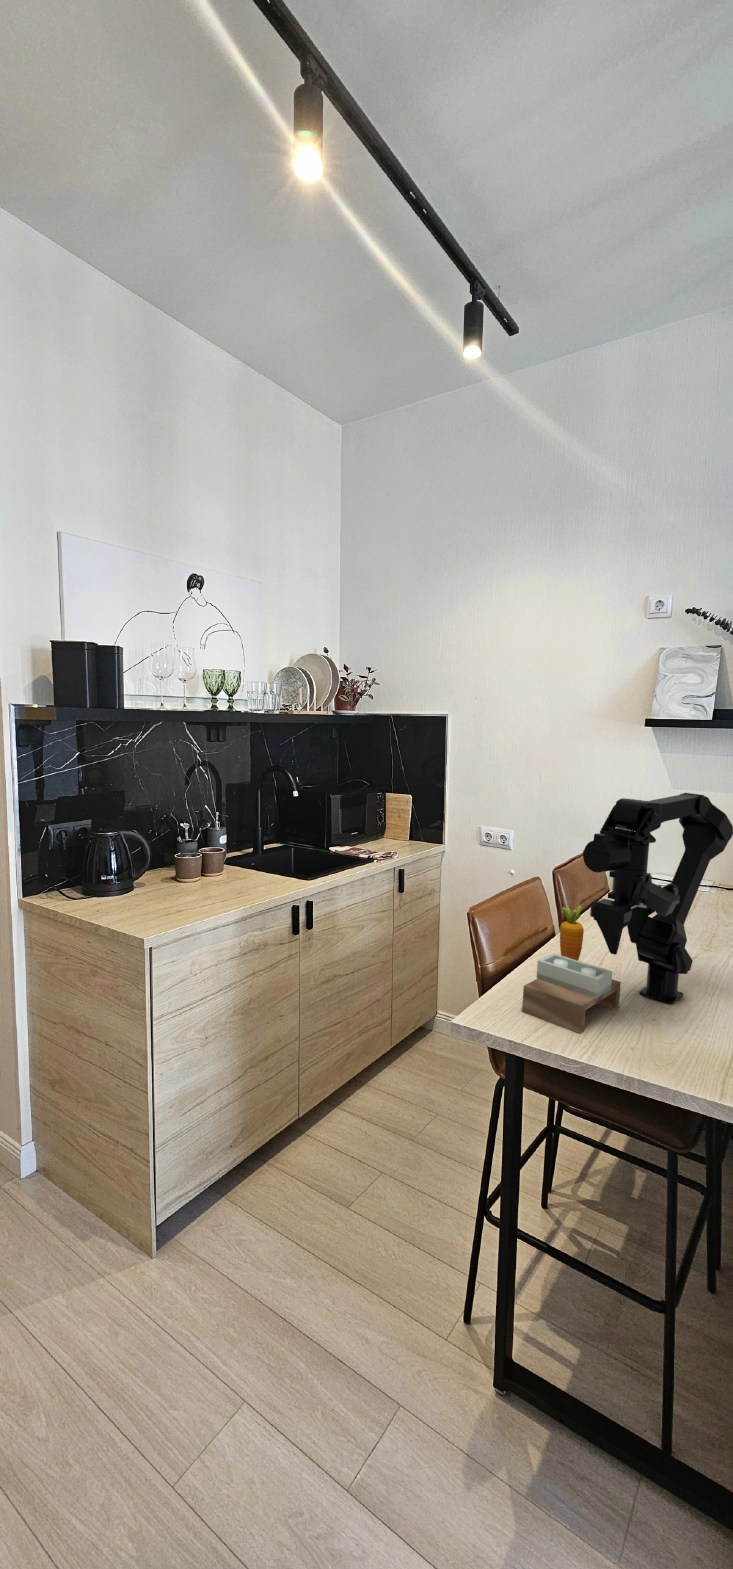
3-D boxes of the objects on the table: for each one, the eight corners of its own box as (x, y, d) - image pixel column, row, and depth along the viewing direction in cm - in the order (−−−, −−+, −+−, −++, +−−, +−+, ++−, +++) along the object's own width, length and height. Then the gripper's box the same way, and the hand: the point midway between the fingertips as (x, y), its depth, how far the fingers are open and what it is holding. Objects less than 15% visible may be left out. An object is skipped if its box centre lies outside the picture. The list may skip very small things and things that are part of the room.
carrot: (553, 974, 142) (558, 906, 140) (560, 967, 146) (565, 901, 144) (576, 980, 139) (582, 910, 137) (583, 973, 143) (588, 905, 141)
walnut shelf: (563, 988, 134) (565, 964, 134) (618, 1006, 127) (620, 981, 126) (522, 1011, 123) (523, 985, 123) (579, 1033, 115) (581, 1006, 115)
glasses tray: (552, 970, 131) (553, 953, 130) (611, 989, 122) (612, 971, 122) (536, 978, 126) (537, 960, 126) (596, 998, 118) (597, 979, 118)
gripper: (655, 883, 110) (647, 973, 112) (693, 868, 124) (686, 948, 125) (591, 871, 118) (585, 955, 120) (634, 857, 131) (628, 933, 133)
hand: (623, 948), depth 124 cm, fingers open, 9 cm apart
